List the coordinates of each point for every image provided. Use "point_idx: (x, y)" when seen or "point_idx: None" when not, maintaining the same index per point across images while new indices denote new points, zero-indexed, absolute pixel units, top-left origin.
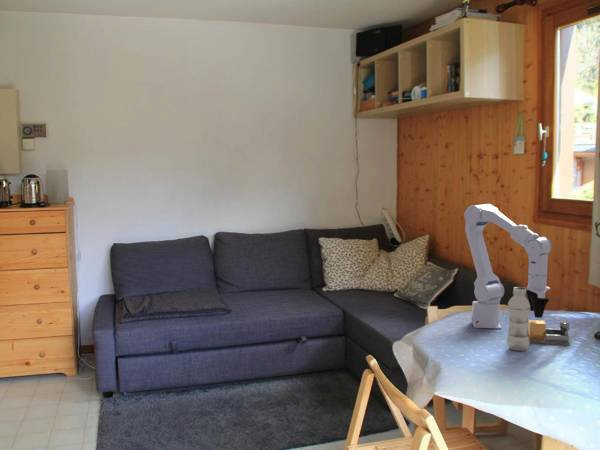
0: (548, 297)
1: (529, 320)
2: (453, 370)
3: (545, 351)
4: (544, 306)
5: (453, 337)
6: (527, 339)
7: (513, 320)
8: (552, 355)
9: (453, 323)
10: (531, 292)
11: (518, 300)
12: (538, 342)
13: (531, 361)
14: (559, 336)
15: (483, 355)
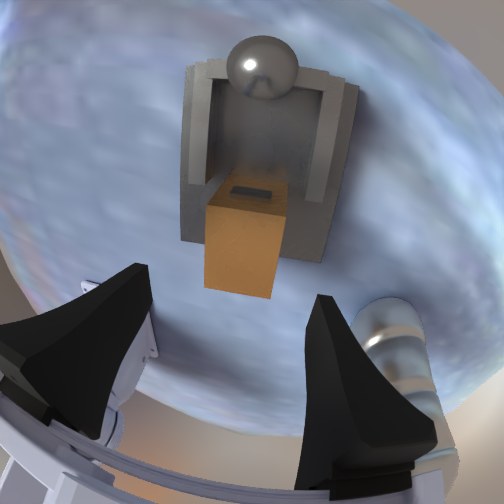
0: (388, 449)
1: (210, 283)
2: None
3: (419, 236)
4: (376, 374)
5: (250, 404)
6: (423, 333)
7: None
8: (457, 229)
9: None
10: (84, 415)
11: None
12: (328, 228)
13: (468, 306)
14: (336, 130)
15: None
